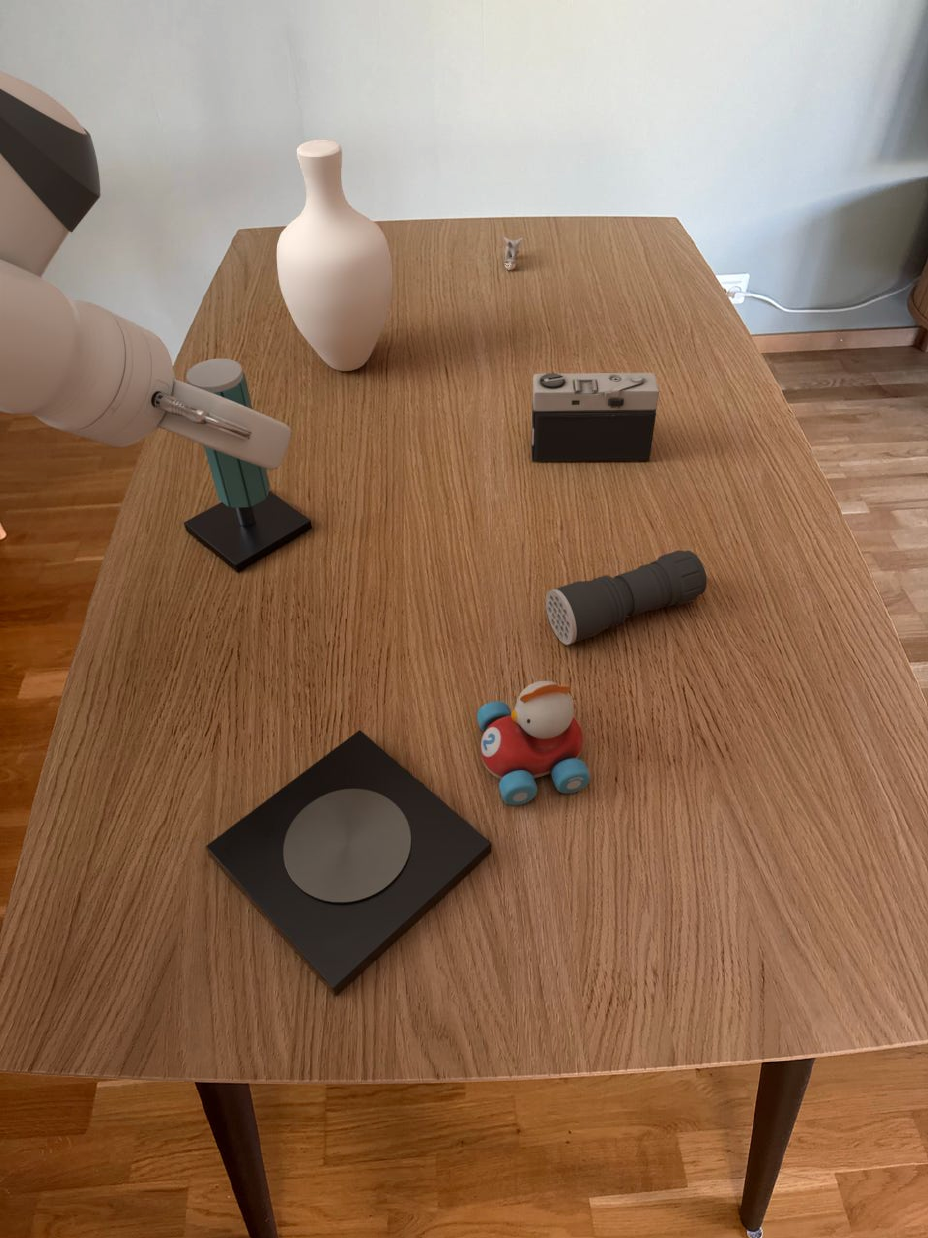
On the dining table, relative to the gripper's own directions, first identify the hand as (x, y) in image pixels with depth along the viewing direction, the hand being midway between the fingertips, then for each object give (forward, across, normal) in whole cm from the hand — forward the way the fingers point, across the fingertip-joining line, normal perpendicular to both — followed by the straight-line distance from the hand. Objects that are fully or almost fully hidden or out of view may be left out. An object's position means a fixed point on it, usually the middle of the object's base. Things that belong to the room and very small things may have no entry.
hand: (234, 430), depth 77 cm
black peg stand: (+20, +11, +10) cm, 25 cm away
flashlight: (+28, -30, +3) cm, 41 cm away
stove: (+2, -24, +28) cm, 37 cm away
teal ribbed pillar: (+4, 0, +5) cm, 6 cm away
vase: (+44, +23, -14) cm, 52 cm away
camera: (+44, -14, -14) cm, 48 cm away
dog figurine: (+70, +20, -40) cm, 83 cm away
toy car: (+14, -31, +17) cm, 38 cm away
